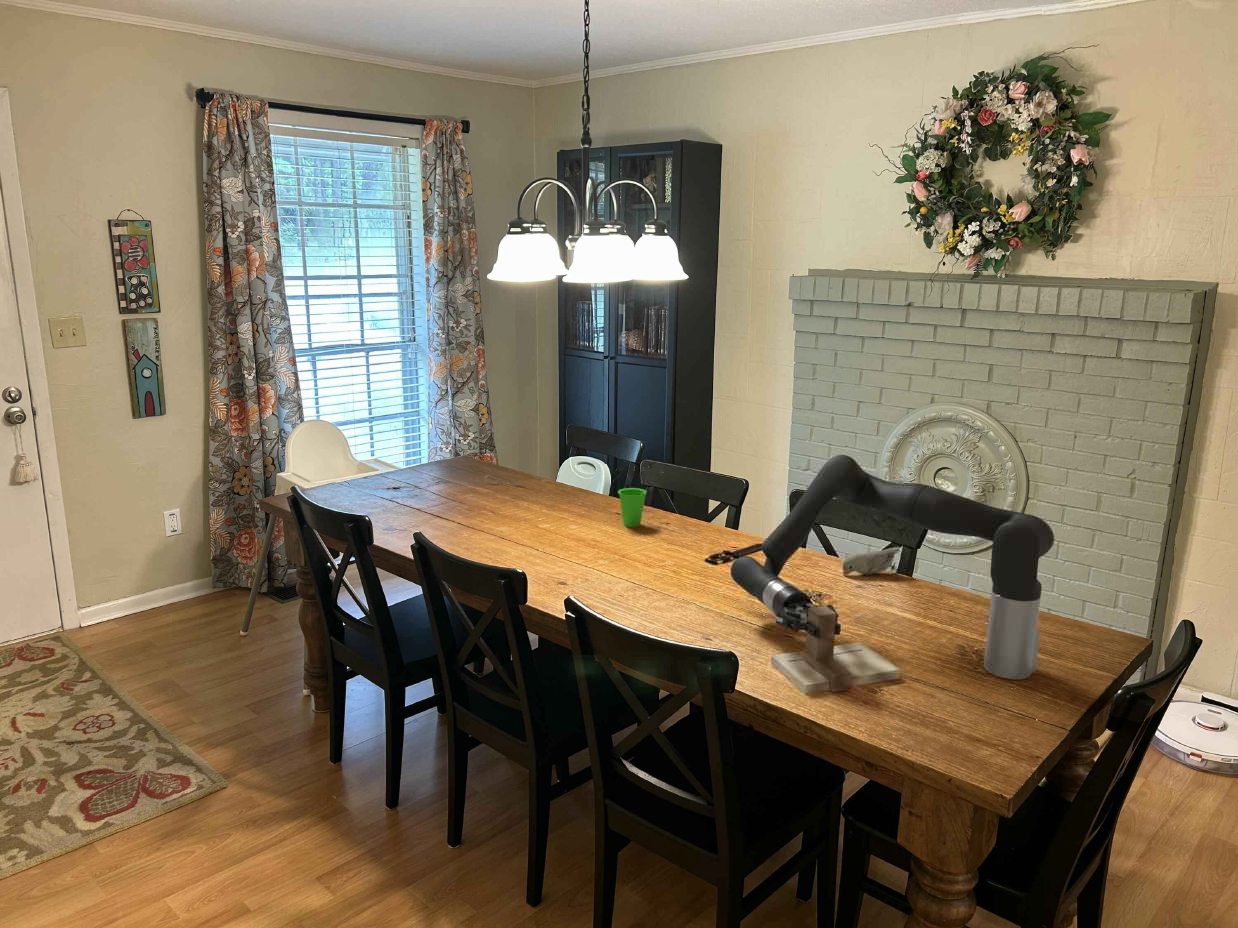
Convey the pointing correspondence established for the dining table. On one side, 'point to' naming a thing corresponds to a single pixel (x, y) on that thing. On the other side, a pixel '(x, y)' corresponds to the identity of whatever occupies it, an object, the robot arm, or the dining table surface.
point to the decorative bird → (870, 562)
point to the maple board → (850, 656)
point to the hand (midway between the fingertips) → (828, 631)
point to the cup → (632, 505)
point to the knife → (732, 554)
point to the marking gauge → (826, 649)
